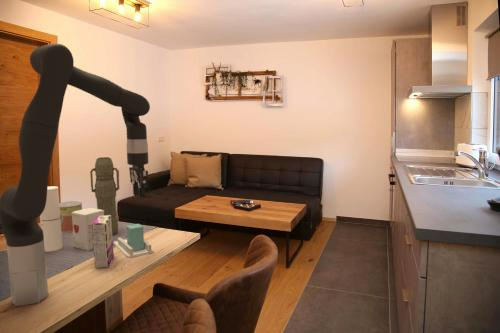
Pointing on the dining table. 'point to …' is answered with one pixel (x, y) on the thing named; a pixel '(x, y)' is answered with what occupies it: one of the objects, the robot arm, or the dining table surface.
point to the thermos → (106, 189)
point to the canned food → (68, 214)
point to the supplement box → (84, 227)
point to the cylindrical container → (51, 221)
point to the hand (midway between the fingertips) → (139, 195)
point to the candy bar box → (102, 241)
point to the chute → (128, 249)
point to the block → (135, 236)
